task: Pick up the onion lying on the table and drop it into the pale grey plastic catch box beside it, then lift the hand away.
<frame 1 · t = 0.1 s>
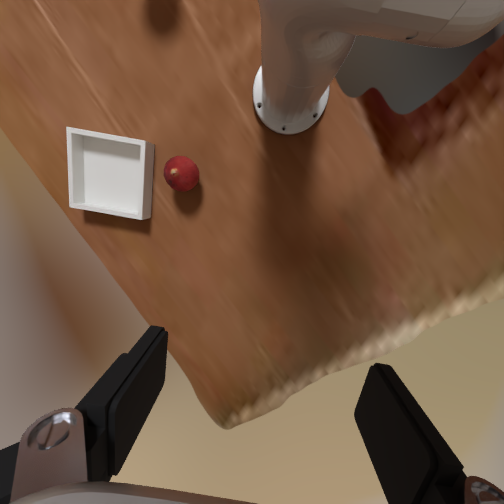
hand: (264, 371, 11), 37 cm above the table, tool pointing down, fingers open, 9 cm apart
onion: (188, 175, 44), on the table
catch box: (117, 176, 44), on the table
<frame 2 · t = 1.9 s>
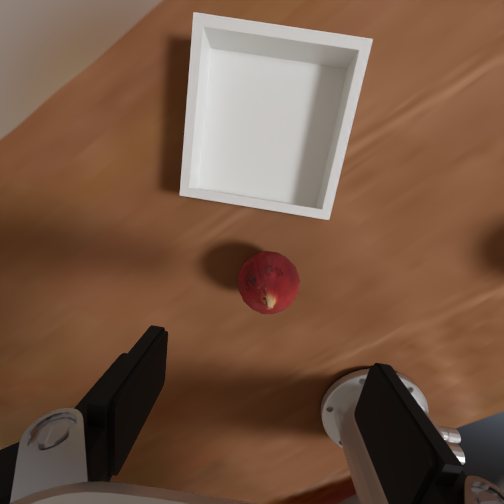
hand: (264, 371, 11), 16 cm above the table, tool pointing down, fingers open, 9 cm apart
onion: (268, 269, 26), on the table
catch box: (266, 135, 22), on the table
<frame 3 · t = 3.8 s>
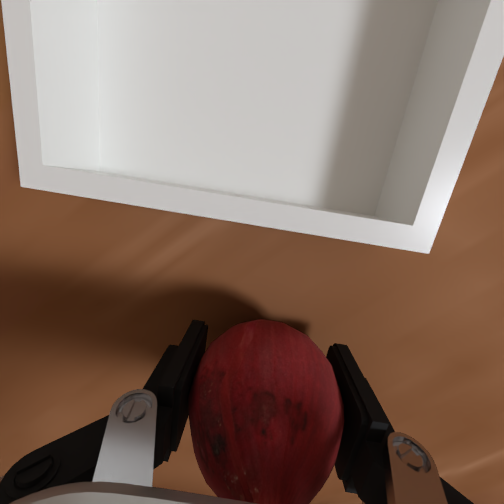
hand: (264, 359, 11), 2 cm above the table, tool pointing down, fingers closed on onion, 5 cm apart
onion: (264, 337, 13), on the table, touching gripper
catch box: (259, 39, 9), on the table
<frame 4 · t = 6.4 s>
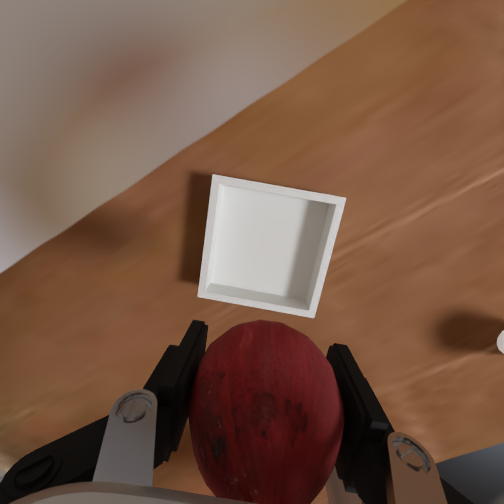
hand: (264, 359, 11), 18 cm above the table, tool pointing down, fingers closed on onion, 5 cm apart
onion: (264, 337, 13), point 16 cm above the table, touching gripper
catch box: (266, 244, 28), on the table
when the fingers open (5 cm above the table, at t = 9.4 s): onion drops 2 cm, resting on catch box.
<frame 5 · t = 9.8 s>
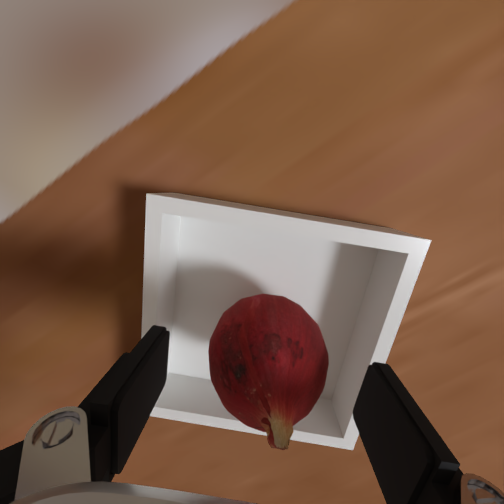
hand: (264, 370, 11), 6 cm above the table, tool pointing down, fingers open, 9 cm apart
onion: (262, 316, 15), point 1 cm above the table, touching catch box
catch box: (263, 308, 16), on the table
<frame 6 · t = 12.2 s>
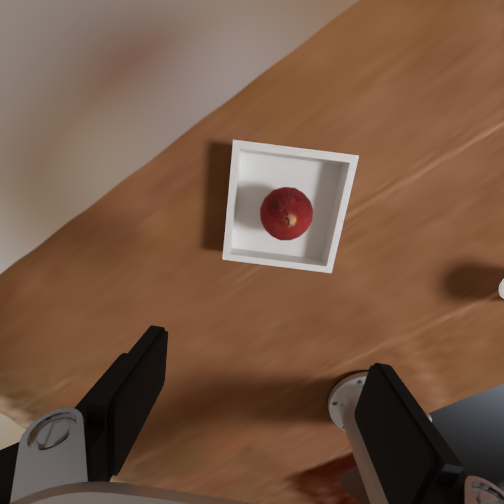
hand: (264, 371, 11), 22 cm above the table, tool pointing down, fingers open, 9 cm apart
onion: (282, 210, 30), point 1 cm above the table, touching catch box
catch box: (283, 208, 30), on the table
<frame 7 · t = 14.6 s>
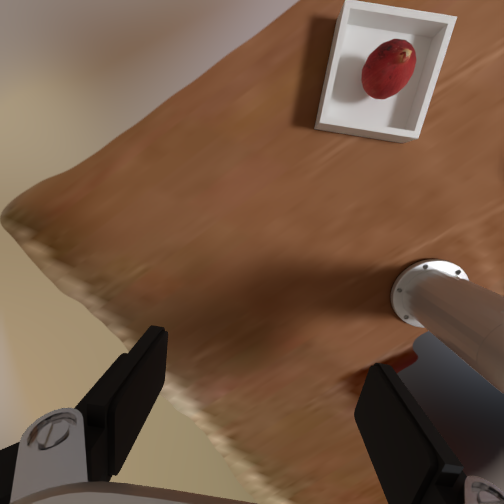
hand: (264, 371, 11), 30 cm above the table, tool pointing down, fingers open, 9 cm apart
onion: (372, 84, 33), point 1 cm above the table, touching catch box
catch box: (371, 84, 33), on the table
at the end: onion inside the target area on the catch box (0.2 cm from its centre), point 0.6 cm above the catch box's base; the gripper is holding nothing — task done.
